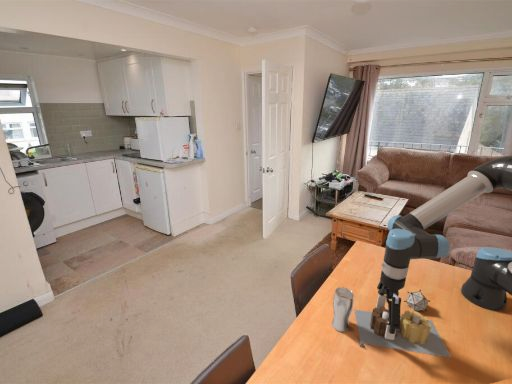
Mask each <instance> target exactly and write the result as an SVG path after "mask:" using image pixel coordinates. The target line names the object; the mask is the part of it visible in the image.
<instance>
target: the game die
mask: <svg viewBox="0 0 512 384" xmlns="http://www.w3.org/2000/svg"><path fill="white" fill-rule="evenodd" d="M421 291H422V289H421V288H420V289H419V291H418V290H417V291H414V292H409V291H407V297H406V299H405V300H403V302H404V303H406V304H407V305H408V306H409V307H410V309H412V310H414V311H416V312H418V311H420V312H421V311H425V312H428V309H427V307H428V304H429V302H431V300H429V299H428V298H427V297H426V296H425V295H424V294H423V293H422V292H421Z"/></svg>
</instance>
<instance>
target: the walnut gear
mask: <svg viewBox="0 0 512 384" xmlns="http://www.w3.org/2000/svg"><path fill="white" fill-rule="evenodd" d="M371 312H372V315H371V321H370V328H371V329H374V333H375V334H376V335H377V336H379V335H381V336H383V337H384V339H385V333H386V328H387V323H388V322H389V318H388V320H384V319H383V318H382V315H383V312H388V309H387V308H386V307H380V308H379V309H377V308H376V306H375V307H374V308H373V309H372V311H371ZM397 331H398V329H396V332H395V337H396V336H397ZM395 337H394V338H395Z"/></svg>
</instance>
